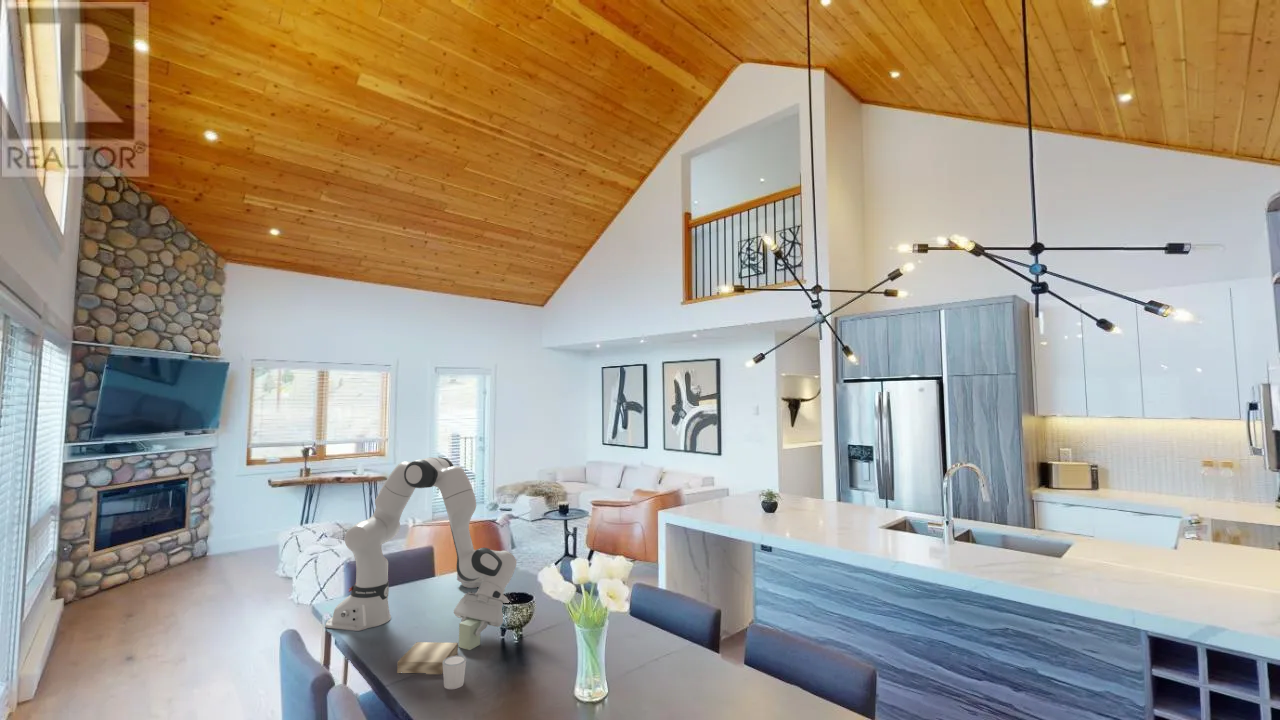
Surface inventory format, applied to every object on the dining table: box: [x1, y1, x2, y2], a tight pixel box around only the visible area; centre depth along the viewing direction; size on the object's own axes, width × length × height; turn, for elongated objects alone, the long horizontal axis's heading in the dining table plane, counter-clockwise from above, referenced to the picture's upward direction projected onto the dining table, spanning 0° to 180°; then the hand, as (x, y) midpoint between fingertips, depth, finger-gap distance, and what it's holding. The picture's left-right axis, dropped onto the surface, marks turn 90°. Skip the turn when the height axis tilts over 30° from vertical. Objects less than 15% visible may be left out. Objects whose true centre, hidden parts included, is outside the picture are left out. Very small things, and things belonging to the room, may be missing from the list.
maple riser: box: [396, 641, 459, 675], centre depth 180 cm, size 14×14×4 cm
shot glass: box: [442, 654, 467, 690], centre depth 167 cm, size 7×7×7 cm
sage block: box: [458, 618, 481, 651], centre depth 193 cm, size 5×5×8 cm
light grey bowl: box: [456, 573, 483, 589], centre depth 256 cm, size 15×15×8 cm
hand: (468, 633), depth 193 cm, fingers closed on sage block, 5 cm apart
